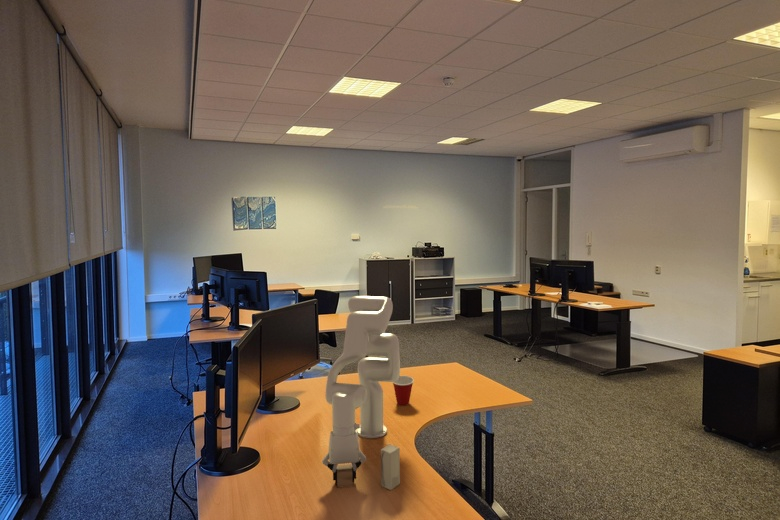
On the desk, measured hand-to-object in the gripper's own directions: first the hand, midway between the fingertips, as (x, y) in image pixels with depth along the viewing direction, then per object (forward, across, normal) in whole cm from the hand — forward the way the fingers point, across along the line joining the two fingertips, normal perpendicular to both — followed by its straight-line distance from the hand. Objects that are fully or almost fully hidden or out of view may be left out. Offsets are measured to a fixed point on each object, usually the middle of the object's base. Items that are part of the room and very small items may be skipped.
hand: (344, 480), depth 159 cm
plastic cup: (+1, -31, -66) cm, 73 cm away
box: (+1, -15, +4) cm, 16 cm away
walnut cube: (+1, 0, 0) cm, 1 cm away
